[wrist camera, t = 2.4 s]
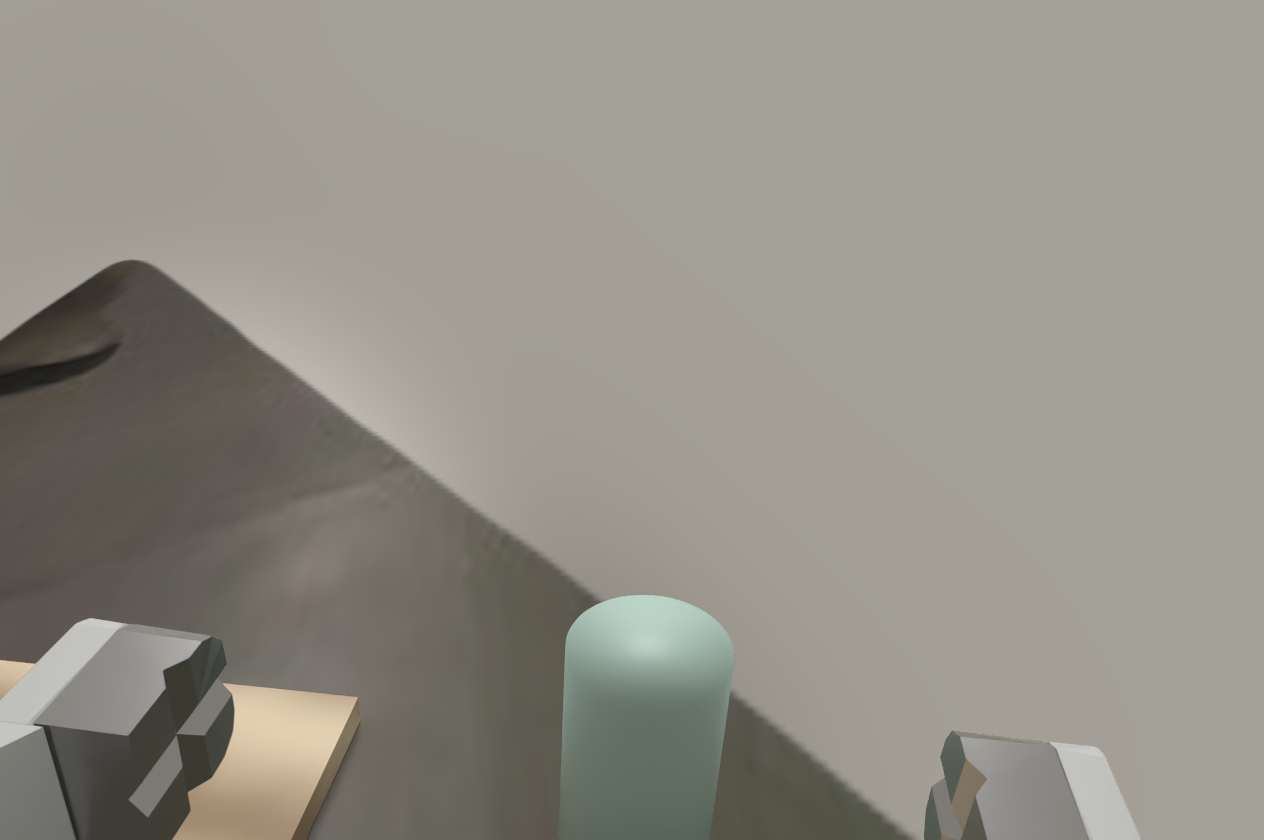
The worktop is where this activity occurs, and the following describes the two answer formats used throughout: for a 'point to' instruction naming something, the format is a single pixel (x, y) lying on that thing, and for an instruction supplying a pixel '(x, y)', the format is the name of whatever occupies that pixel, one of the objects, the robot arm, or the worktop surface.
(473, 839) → the worktop surface
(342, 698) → the socket board
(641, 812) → the peg
